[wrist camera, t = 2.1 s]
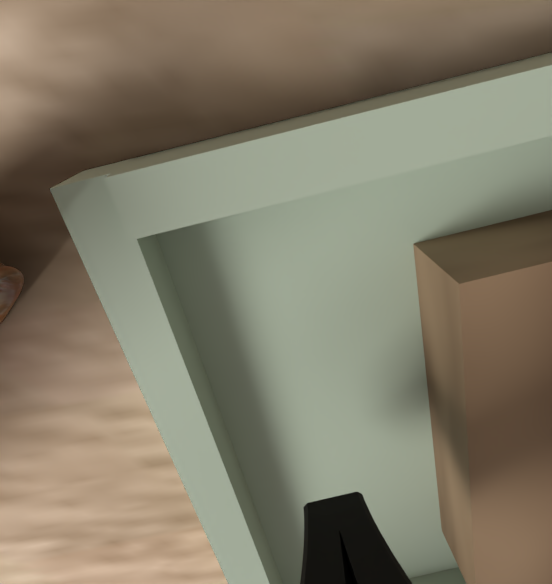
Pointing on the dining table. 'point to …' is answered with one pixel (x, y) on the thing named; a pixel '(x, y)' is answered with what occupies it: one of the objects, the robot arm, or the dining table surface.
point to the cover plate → (491, 394)
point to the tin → (9, 288)
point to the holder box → (306, 301)
